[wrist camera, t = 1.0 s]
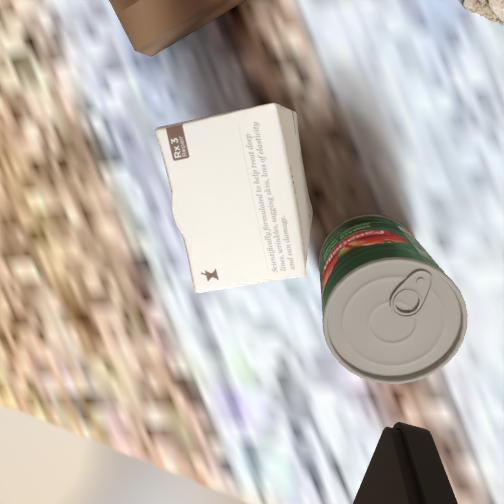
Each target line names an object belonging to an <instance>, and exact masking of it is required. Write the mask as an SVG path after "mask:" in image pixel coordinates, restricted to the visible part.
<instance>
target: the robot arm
mask: <svg viewBox="0 0 504 504" xmlns="http://www.w3.org/2000/svg"><path fill="white" fill-rule="evenodd" d="M353 504H458V503H457V500H456V498H455V495H454V493H453V490H452V487H451V485H450V482H449V480H448V477H447V474H446V472H445V469H444V467H443V464H442V461H441V459H440V456H439V454H438V451H437V448H436V446H435V443H434V441H433V438H432V435H431V434H430V432H429V431H428V430H427V429H423V428H419V427H416V426H412V425H408V424H405V423H401V422H398V423H396V424H395V425H394V427H393V428H390V427H386V428H385V429H384V430H383V432H382V435H381V437H380V439H379V442H378V444H377V447H376V449H375V452H374V454H373V456H372V459H371V461H370V464H369V466H368V468H367V471H366V473H365V476H364V478H363V481H362V483H361V485H360V488H359V490H358V493H357V495H356V498H355V500H354V502H353Z"/></svg>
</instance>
